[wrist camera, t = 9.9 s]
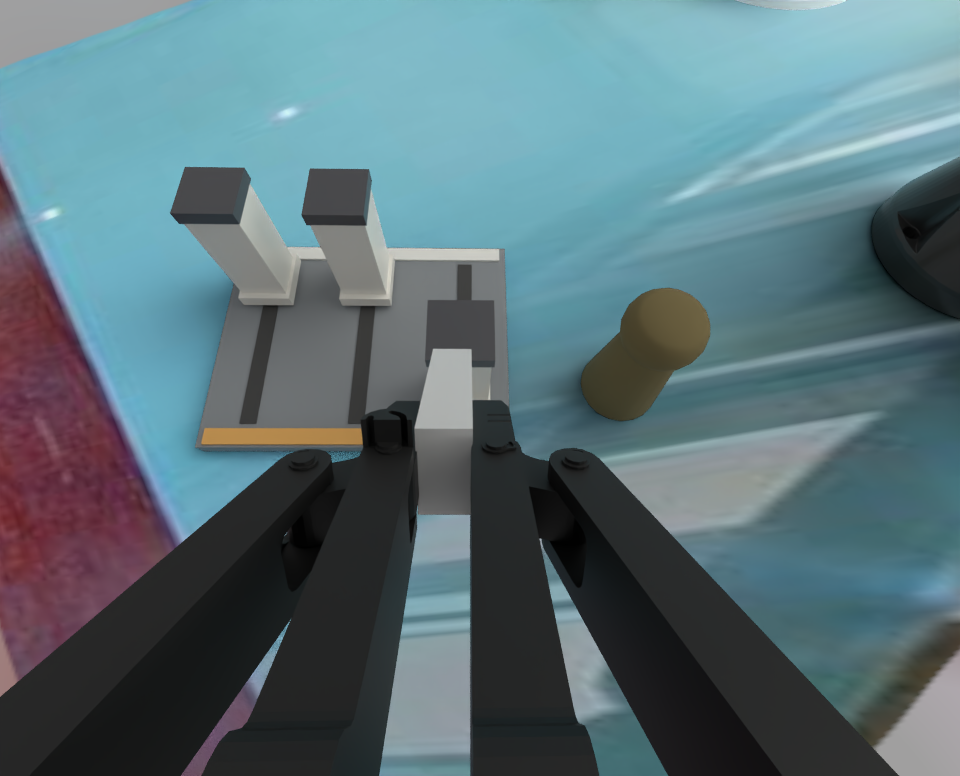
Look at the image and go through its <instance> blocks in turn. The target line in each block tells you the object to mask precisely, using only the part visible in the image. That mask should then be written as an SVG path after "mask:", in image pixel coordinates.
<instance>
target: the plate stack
mask: <svg viewBox="0 0 960 776" xmlns="http://www.w3.org/2000/svg"><path fill="white" fill-rule="evenodd" d="M736 1H739V2H742V3H746V4H750V5H754V6H759V7H765V8H771V9H781V10H810V9H819V8H825V7H829V6H833V5H836V4H839V3H842V2H845V1H847V0H736Z"/></svg>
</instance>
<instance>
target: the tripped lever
mask: <svg viewBox="0 0 960 776" xmlns="http://www.w3.org/2000/svg"><path fill="white" fill-rule="evenodd" d="M433 349H471V350H472V400H490V378H491V368H492V367H495V313H494V300H428V303H427V325H426V347H425V363H426V367H429V365H430V360H431V356H432V352H433Z"/></svg>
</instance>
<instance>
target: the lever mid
mask: <svg viewBox="0 0 960 776" xmlns="http://www.w3.org/2000/svg"><path fill="white" fill-rule="evenodd" d="M371 182H372V180H371V176H370V172H369V169H310V171H309V177H308V182H307V188H306V193H305V199H304V204H303V209H302V217H303V219H304V221H305V223H306V225H310V226H311V228H312V230H313V232H314V234H315V236H316V239H317V241H318V243H319V245H320V247H321V249H322V251H323V253H324V255H325V257H326V260H327V262H328V264H329V266H330V268H331V270H332V272H333V274H334V276H335V279H336V281H337V283H338V285H339V287H340V296H339V300H340V302H341V304H342V306H391V304H392V292H393V280H394V267H395V260H394V256H393V254H388V251H387V247H386V243H385V239H384V236H383V232H382V228H381V224H380V221H379V217H378V213H377V209H376V206H375V202H374V198H373V194H372V191H371Z"/></svg>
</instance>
